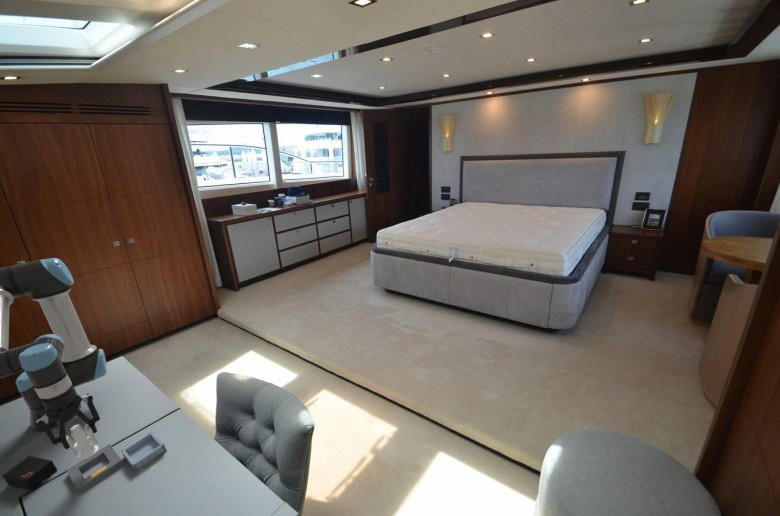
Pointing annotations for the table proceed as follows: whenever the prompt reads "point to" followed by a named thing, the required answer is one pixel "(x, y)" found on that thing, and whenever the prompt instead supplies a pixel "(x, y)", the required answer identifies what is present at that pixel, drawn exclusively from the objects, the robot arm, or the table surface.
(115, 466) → the socket panel
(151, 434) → the tray
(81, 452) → the white cylindrical piece
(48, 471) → the electronic device
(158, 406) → the table surface
